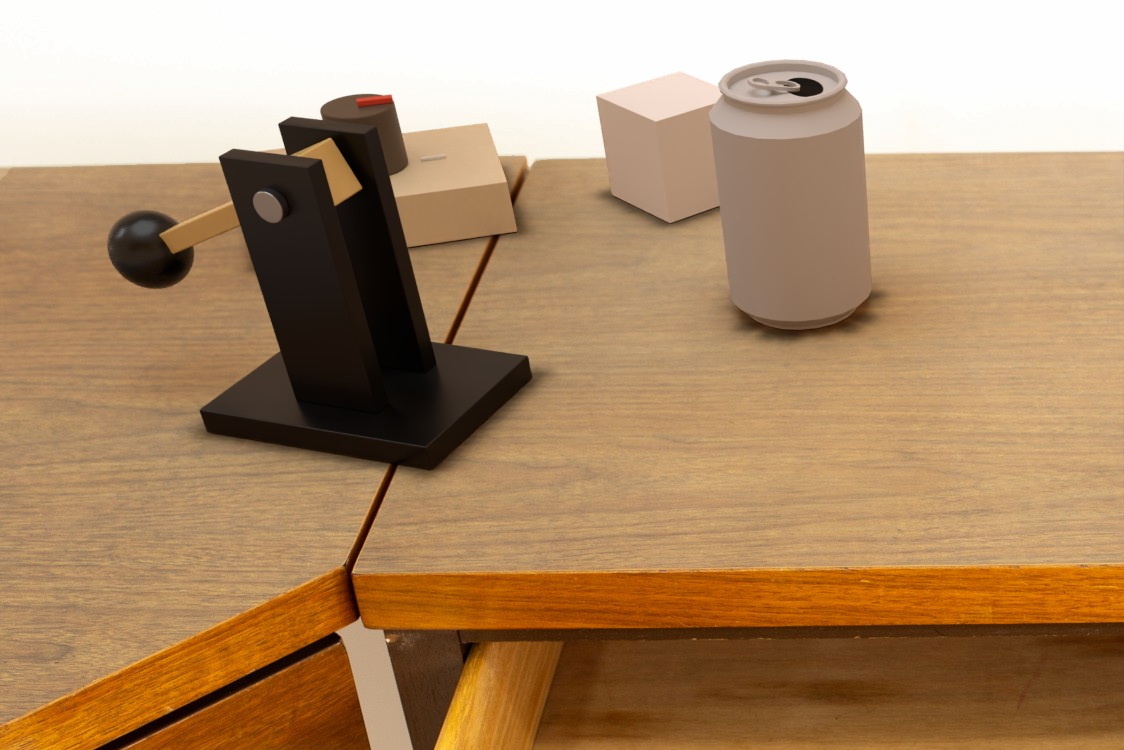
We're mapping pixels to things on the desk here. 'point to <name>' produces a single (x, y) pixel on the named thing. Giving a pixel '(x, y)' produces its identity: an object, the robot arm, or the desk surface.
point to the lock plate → (450, 186)
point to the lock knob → (372, 122)
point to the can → (792, 192)
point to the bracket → (347, 315)
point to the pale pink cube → (661, 145)
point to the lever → (197, 228)
